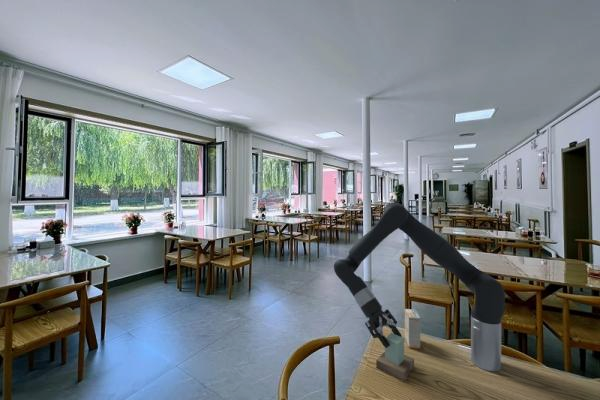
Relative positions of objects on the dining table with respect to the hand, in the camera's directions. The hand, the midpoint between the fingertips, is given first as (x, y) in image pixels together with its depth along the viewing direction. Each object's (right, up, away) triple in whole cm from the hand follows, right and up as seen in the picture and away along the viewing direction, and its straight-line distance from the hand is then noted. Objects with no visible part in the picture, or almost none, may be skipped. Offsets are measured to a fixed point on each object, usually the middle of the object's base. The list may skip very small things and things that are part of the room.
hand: (394, 342), depth 95 cm
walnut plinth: (0, -9, 0) cm, 9 cm away
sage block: (0, -6, 0) cm, 6 cm away
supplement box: (+13, -9, +15) cm, 22 cm away
